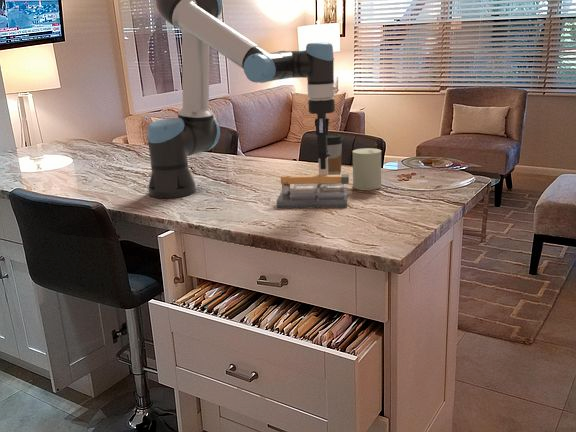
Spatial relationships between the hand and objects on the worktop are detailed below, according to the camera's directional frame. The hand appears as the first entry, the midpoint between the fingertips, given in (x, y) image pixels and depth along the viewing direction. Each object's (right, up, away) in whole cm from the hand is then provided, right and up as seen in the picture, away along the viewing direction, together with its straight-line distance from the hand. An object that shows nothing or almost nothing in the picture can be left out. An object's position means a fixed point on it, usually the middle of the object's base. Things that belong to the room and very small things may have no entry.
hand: (323, 178), depth 176 cm
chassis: (-3, -6, 0) cm, 7 cm away
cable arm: (-3, -1, -2) cm, 4 cm away
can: (+15, -2, +13) cm, 20 cm away
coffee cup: (+4, +1, +23) cm, 23 cm away
